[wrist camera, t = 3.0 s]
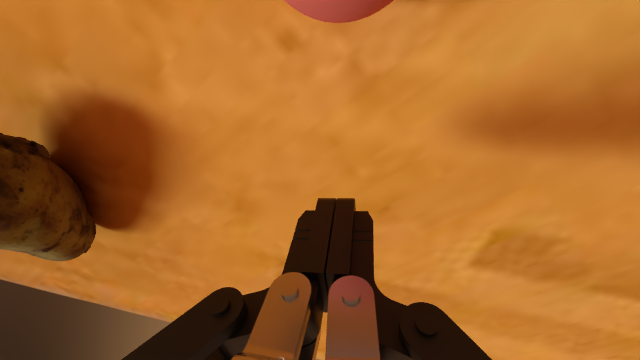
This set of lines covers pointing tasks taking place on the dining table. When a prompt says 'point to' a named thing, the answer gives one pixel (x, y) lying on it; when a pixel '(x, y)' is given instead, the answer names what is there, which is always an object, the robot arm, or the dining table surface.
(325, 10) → the ball
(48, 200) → the potato
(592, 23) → the dining table surface
